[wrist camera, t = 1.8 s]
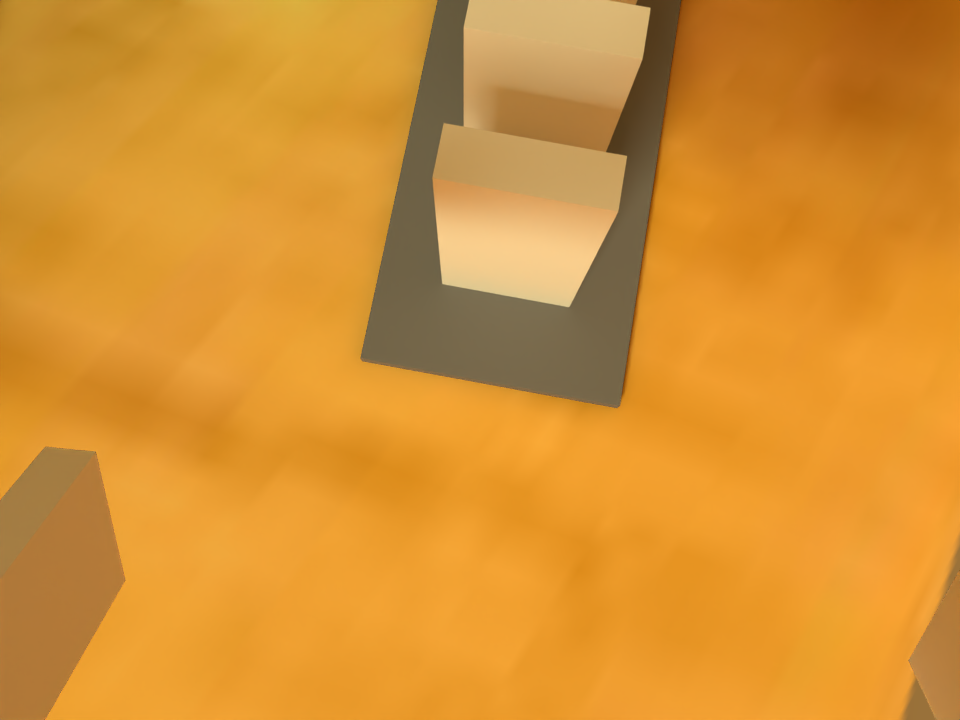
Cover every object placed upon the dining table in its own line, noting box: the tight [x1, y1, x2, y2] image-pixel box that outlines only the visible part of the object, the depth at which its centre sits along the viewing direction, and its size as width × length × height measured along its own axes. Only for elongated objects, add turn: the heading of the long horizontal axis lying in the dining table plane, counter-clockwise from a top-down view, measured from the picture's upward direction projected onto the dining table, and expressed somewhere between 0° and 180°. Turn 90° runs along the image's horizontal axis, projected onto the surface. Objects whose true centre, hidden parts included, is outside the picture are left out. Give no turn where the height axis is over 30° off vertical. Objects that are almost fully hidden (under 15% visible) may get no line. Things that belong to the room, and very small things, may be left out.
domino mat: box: [361, 0, 681, 408], centre depth 33 cm, size 22×10×1 cm, turn 170°
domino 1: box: [464, 0, 651, 152], centre depth 27 cm, size 2×5×10 cm, turn 79°
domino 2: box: [432, 123, 627, 307], centre depth 26 cm, size 2×5×10 cm, turn 80°
